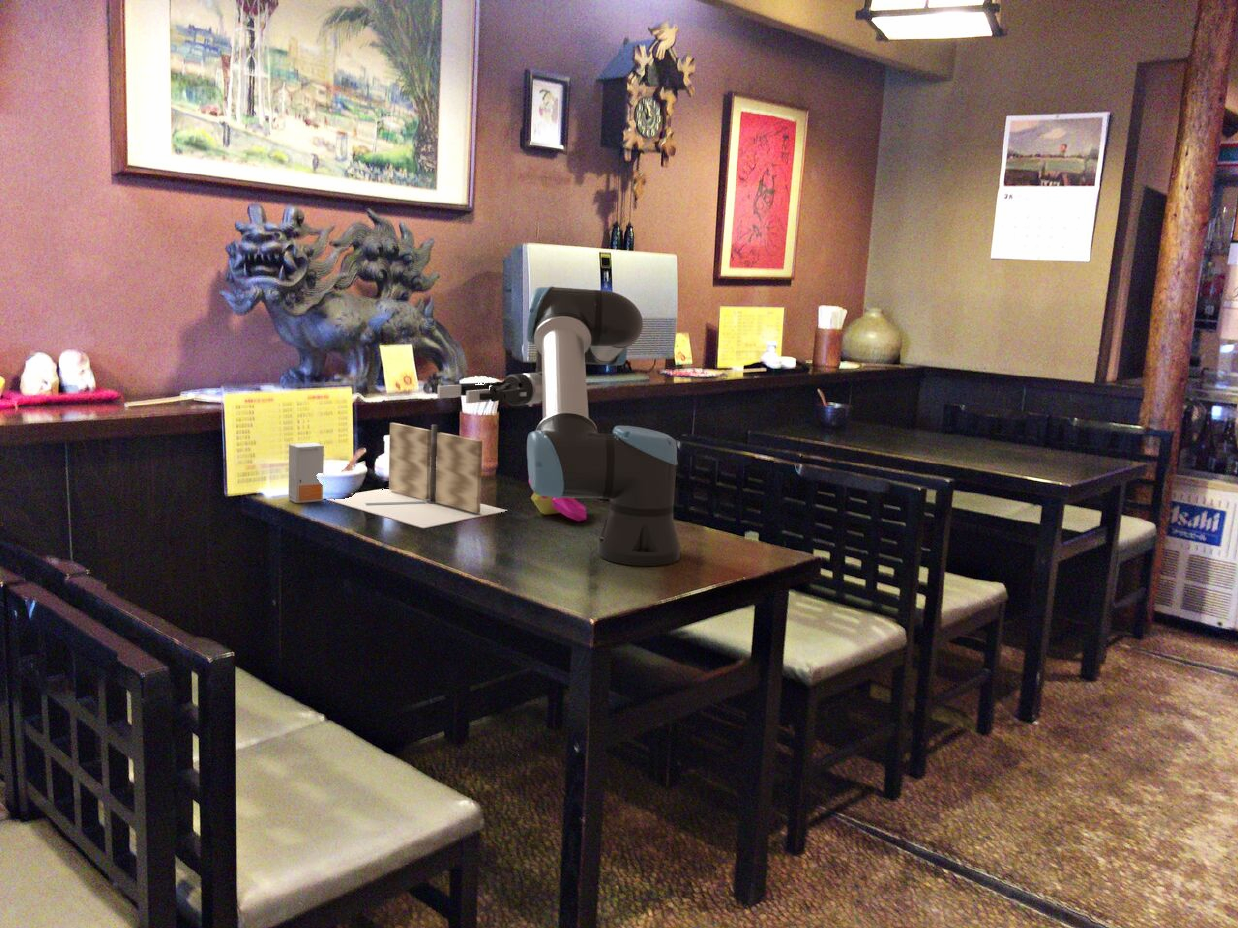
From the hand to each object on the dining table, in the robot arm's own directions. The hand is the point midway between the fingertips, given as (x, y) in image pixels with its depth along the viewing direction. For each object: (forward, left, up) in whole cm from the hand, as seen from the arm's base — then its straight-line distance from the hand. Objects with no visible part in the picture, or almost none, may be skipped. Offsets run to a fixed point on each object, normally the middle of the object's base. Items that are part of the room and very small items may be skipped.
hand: (452, 394), depth 224 cm
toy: (-30, -2, -22) cm, 38 cm away
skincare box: (+11, +30, -22) cm, 39 cm away
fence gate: (+1, +11, -21) cm, 24 cm away
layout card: (-6, +15, -22) cm, 28 cm away
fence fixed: (-13, +11, -22) cm, 28 cm away
